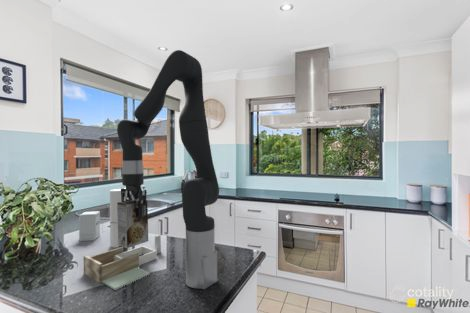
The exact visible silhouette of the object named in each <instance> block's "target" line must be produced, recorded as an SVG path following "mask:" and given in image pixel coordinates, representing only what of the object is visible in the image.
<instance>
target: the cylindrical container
mask: <svg viewBox="0 0 470 313" xmlns="http://www.w3.org/2000/svg"><path fill="white" fill-rule="evenodd" d="M124 198H125V197H124ZM118 202H122V201H121V188H115V189H110V190H109V234H110V235H109V240H110V241H109V242H110V243H109V247H111V248H120V247H119V245H118V211H117V203H118Z"/></svg>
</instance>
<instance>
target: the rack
mask: <svg viewBox="0 0 470 313" xmlns="http://www.w3.org/2000/svg"><path fill="white" fill-rule="evenodd" d="M122 252H124V247H116V248H114V249H110V250H107V251H104V252H100V253H98V254H94V255H91V256H89V255H87V254H85V255H83V274H84V275H86V276H88V277H89V278H91V279H93V281H95V280H96V281H95V282H97V283H98V282H99V284H101V283H103V280H105V279H108V278H110V277H113V276H116V275H118V274H121V273H123V272H126V271H128V270H131V269H133V268H136V267H139V268H140V265H139V256H140V255H139V254H138V253H137V254H134V255H131V256H128V257H125V258H122V259H120V260H117V261H114V255H116V254H119V253H122Z"/></svg>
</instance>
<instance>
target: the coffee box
mask: <svg viewBox="0 0 470 313" xmlns="http://www.w3.org/2000/svg"><path fill="white" fill-rule="evenodd" d="M137 203H138V202H137ZM142 203H143V200H142ZM117 211H118V245H119V246H122V247H123V249H124V248H125V249H129V248H132V247H135V246H137V245H141V244H144V243H147V242H149V218H148V217H149V216H148V200H147V199H146V206H143V207H142V217H140V218H136V206H135V203H134V202H133V201H132V200H130V201H123V202H118V203H117Z"/></svg>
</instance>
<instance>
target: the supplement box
mask: <svg viewBox="0 0 470 313" xmlns="http://www.w3.org/2000/svg"><path fill="white" fill-rule="evenodd" d="M78 219H79V221H78V227H79V228H78V231H79V232H78V236H79V237H78V241H79V242H87V241H88V242H89V241H96V240H97V239H98V237H99V236H101V233H100V232H101V228H100V227H101V212H100V210H99V211H98V210H96V211H95V210H94V211H93V210H92V211H84V212H83V213H81V214H79V215H78Z"/></svg>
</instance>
